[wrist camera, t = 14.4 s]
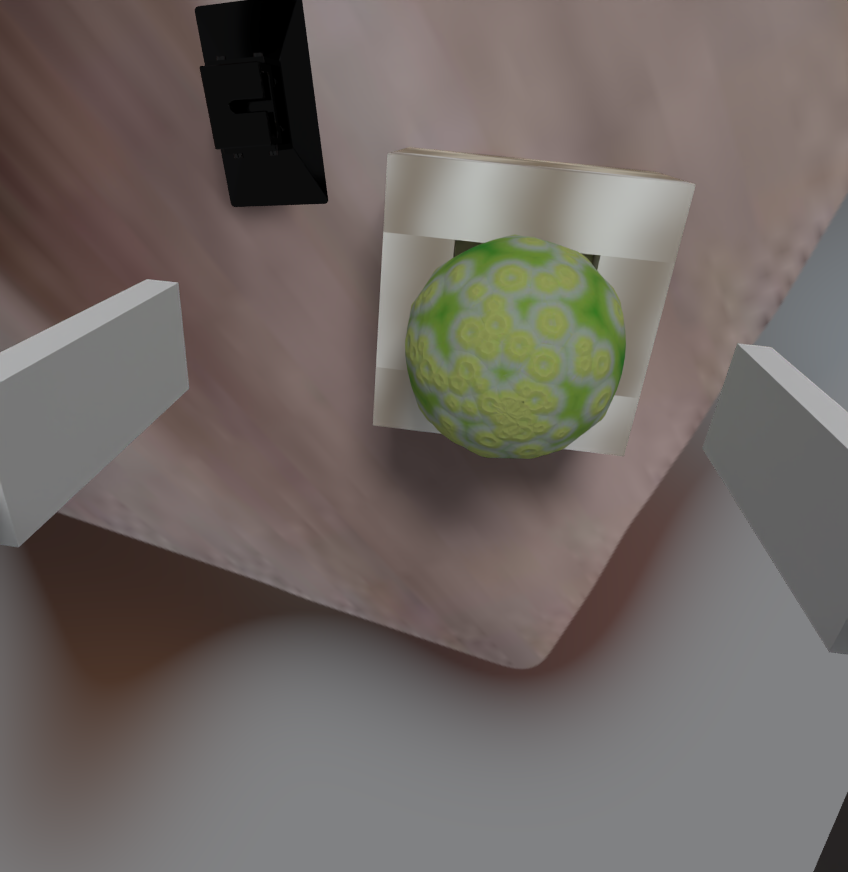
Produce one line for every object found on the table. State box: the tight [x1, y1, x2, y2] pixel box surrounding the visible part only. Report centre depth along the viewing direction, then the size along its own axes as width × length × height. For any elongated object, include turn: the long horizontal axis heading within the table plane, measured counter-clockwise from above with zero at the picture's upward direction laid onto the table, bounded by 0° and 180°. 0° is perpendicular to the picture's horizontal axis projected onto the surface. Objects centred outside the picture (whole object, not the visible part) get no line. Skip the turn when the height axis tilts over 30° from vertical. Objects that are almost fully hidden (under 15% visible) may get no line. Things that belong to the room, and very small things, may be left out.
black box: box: [195, 0, 328, 207], centre depth 34 cm, size 13×8×5 cm, turn 4°
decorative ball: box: [405, 235, 626, 459], centre depth 28 cm, size 10×10×10 cm
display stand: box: [373, 147, 696, 456], centre depth 35 cm, size 14×14×8 cm
